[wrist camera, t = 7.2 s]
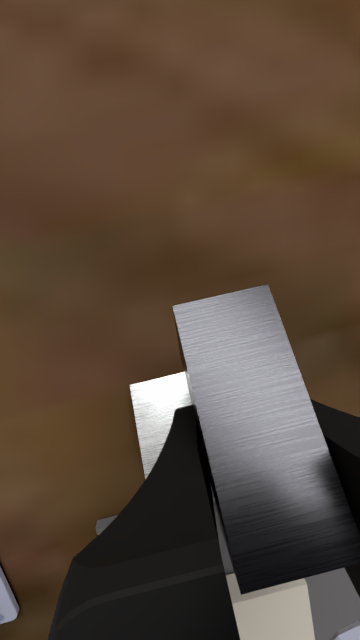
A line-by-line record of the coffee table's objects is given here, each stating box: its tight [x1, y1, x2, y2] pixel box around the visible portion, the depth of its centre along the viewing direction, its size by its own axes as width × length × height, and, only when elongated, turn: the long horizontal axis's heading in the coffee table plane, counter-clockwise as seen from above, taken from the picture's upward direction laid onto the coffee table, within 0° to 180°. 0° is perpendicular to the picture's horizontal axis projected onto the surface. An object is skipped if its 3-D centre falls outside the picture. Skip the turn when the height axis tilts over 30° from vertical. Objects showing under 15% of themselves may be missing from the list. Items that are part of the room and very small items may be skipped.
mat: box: [96, 505, 360, 640], centre depth 20 cm, size 16×14×1 cm
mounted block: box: [130, 285, 360, 595], centre depth 12 cm, size 8×10×6 cm
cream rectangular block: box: [226, 573, 315, 640], centre depth 20 cm, size 6×2×8 cm
